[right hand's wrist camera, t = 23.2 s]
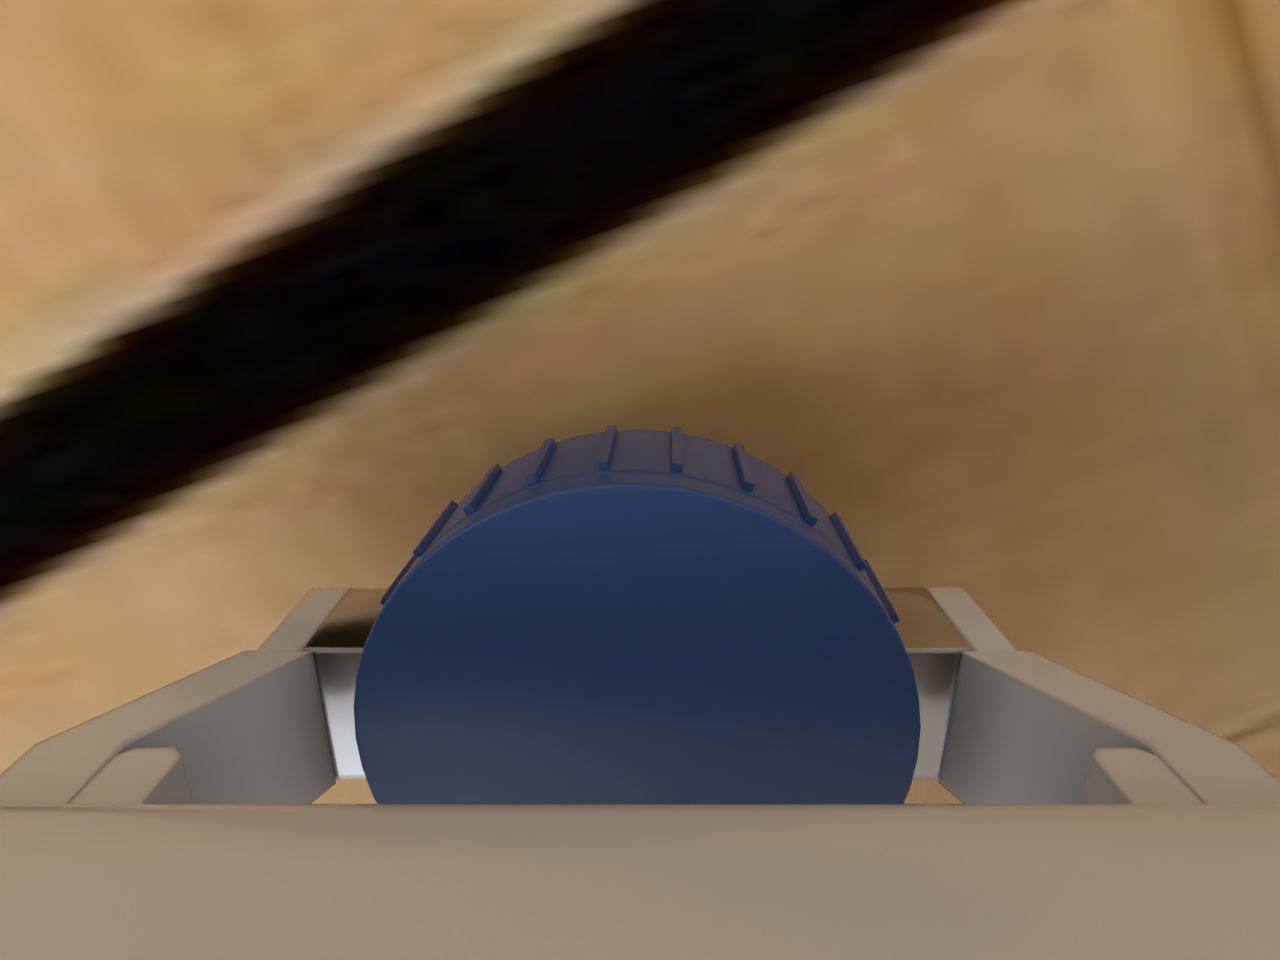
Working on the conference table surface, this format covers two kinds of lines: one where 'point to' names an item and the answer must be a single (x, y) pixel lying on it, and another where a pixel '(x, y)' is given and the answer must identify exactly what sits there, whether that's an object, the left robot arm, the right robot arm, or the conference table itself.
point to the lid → (637, 641)
